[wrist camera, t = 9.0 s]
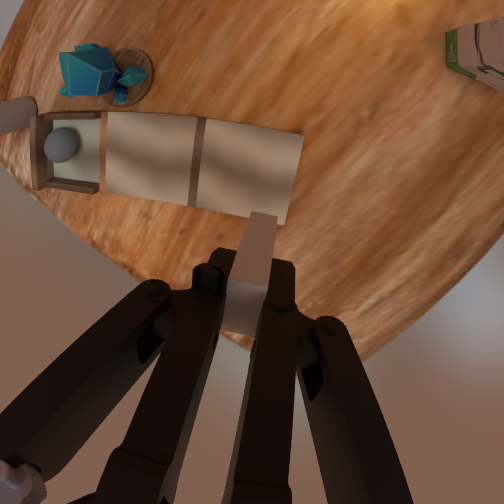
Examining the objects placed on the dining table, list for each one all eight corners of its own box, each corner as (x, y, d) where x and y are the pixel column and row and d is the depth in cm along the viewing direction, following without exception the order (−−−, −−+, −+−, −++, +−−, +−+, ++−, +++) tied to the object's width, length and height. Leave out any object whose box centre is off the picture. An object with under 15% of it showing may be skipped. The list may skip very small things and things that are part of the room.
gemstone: (116, 36, 24) (47, 24, 13) (170, 67, 26) (108, 57, 15) (86, 88, 27) (15, 97, 17) (135, 121, 29) (67, 139, 19)
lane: (49, 112, 29) (30, 116, 25) (304, 135, 28) (306, 140, 25) (50, 180, 34) (32, 190, 30) (284, 221, 33) (283, 237, 30)
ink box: (445, 67, 22) (509, 63, 11) (445, 29, 19) (506, 12, 9) (498, 91, 21) (564, 103, 11) (499, 56, 18) (563, 57, 8)
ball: (44, 129, 24) (80, 123, 27) (42, 131, 27) (73, 126, 30) (47, 167, 26) (81, 160, 29) (44, 165, 29) (74, 158, 32)
